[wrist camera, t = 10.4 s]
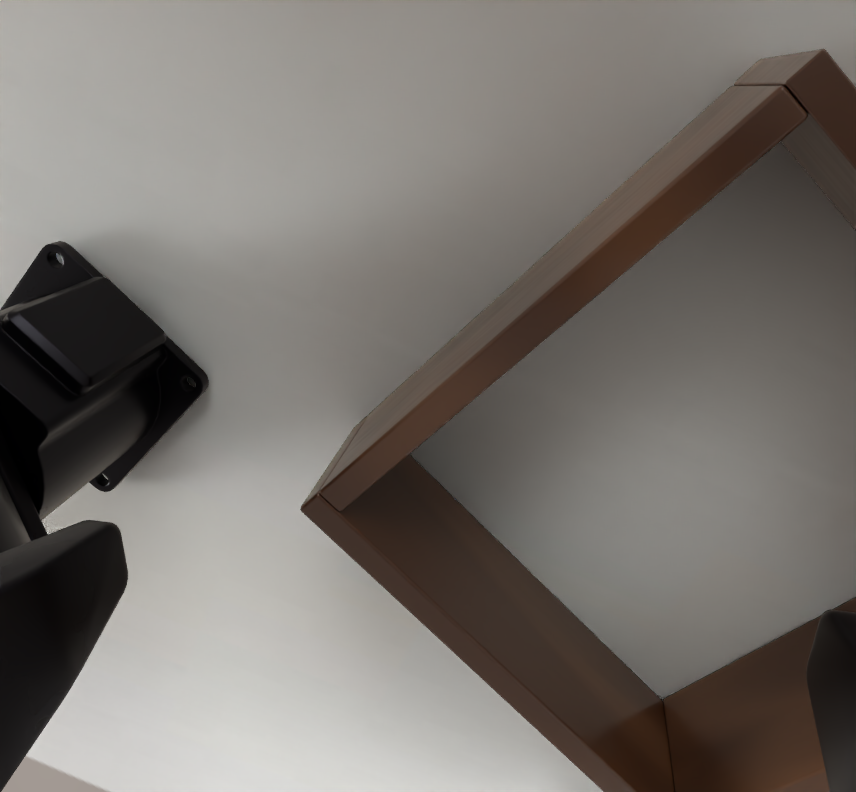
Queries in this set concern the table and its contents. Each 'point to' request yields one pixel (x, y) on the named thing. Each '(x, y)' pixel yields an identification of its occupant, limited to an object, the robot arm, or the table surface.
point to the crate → (503, 574)
